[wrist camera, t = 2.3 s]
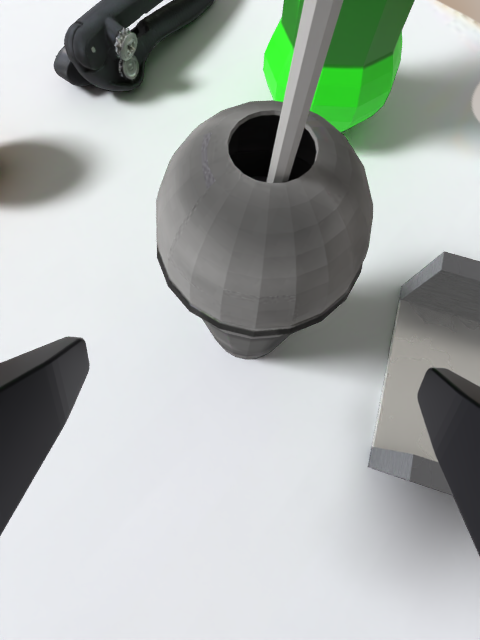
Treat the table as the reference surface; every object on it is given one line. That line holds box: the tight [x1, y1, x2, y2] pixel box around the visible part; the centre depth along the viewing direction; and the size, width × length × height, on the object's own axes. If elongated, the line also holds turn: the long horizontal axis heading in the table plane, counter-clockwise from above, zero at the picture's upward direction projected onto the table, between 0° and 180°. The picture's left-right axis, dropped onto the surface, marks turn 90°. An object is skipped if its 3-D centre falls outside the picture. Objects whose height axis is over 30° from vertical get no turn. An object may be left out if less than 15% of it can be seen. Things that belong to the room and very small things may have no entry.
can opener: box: [54, 0, 214, 91], centre depth 28 cm, size 18×7×6 cm, turn 143°
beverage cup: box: [156, 0, 373, 359], centre depth 13 cm, size 7×7×20 cm
